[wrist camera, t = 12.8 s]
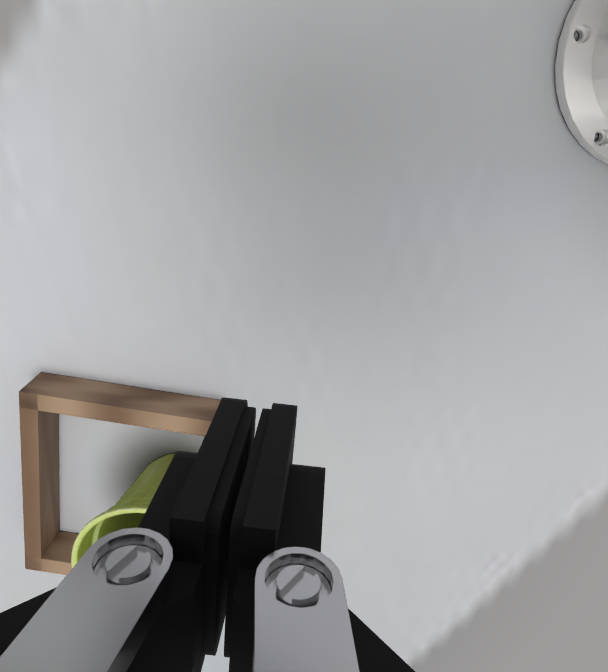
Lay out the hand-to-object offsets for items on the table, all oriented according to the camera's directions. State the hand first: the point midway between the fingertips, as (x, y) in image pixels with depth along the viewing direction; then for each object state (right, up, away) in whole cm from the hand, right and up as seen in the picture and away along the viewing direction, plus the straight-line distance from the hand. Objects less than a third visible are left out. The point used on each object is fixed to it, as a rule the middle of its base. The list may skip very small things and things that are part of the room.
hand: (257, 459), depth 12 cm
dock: (-12, -8, +30) cm, 33 cm away
